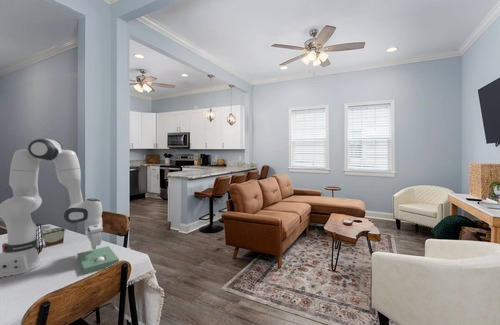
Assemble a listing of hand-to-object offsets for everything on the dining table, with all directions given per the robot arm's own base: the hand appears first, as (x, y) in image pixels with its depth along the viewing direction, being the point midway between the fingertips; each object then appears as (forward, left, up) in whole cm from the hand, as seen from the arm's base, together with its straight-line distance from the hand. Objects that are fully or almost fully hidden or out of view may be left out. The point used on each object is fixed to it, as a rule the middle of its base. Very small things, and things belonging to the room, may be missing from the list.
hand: (93, 248), depth 141 cm
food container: (-17, +40, -5) cm, 43 cm away
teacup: (-23, +60, -5) cm, 64 cm away
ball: (+1, -15, -2) cm, 15 cm away
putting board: (0, -9, -5) cm, 10 cm away
